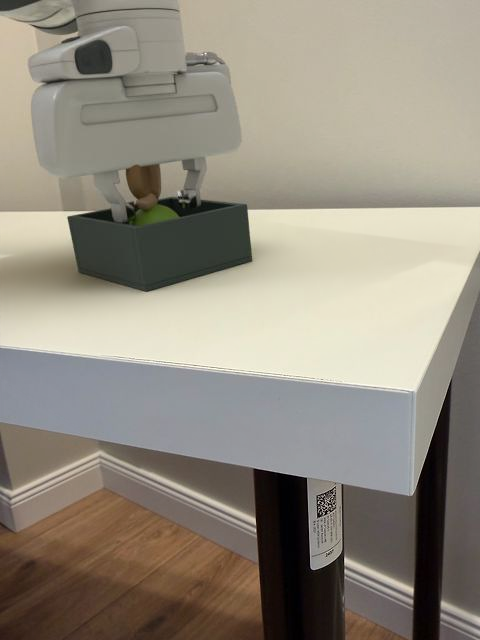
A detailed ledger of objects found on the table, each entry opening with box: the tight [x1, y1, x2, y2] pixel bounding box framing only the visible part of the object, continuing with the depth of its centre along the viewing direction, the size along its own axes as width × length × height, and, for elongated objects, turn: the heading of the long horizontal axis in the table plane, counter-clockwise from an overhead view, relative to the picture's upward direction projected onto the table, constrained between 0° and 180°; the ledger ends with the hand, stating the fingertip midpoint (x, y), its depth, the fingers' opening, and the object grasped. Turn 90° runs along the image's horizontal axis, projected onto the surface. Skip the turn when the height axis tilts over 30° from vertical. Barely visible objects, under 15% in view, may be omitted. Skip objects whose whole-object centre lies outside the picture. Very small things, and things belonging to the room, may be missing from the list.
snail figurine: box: [125, 164, 179, 226], centre depth 62 cm, size 5×6×12 cm
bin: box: [66, 196, 253, 292], centre depth 64 cm, size 12×12×6 cm
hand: (159, 214), depth 63 cm, fingers open, 6 cm apart
